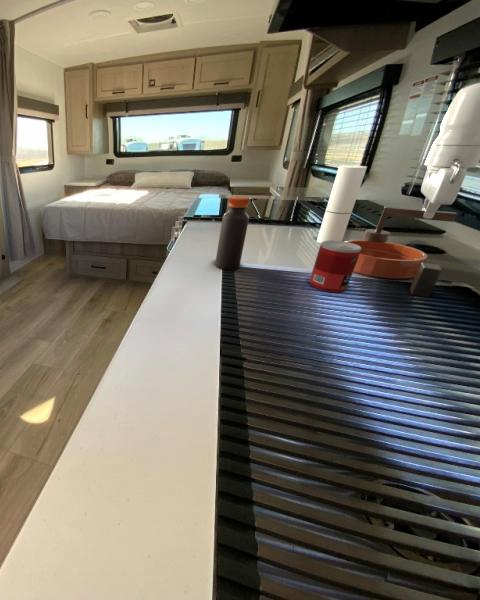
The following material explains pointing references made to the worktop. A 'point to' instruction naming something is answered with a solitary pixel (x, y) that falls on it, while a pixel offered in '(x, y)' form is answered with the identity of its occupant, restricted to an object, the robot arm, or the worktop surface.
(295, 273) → the worktop surface
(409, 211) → the brown bent bar
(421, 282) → the dark brown upright post
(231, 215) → the bottle
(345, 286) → the canned food
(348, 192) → the cylindrical container
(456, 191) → the robot arm
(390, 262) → the bowl
